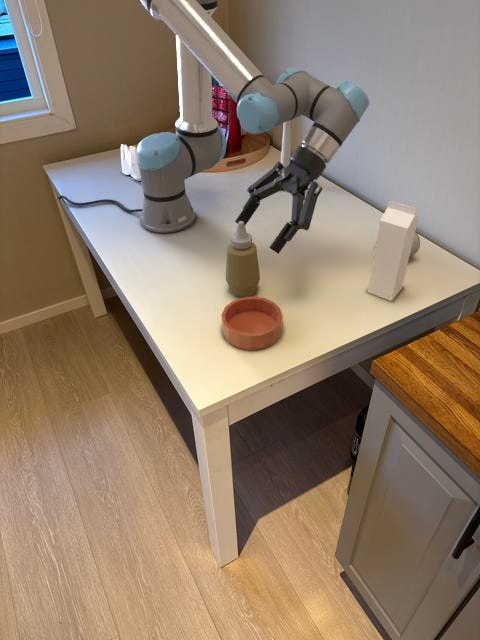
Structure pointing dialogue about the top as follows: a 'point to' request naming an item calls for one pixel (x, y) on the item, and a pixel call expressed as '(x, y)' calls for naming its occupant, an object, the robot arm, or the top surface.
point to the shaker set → (130, 162)
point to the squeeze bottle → (242, 263)
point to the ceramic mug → (415, 244)
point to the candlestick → (286, 145)
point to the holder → (252, 323)
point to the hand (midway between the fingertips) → (255, 237)
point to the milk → (392, 250)
